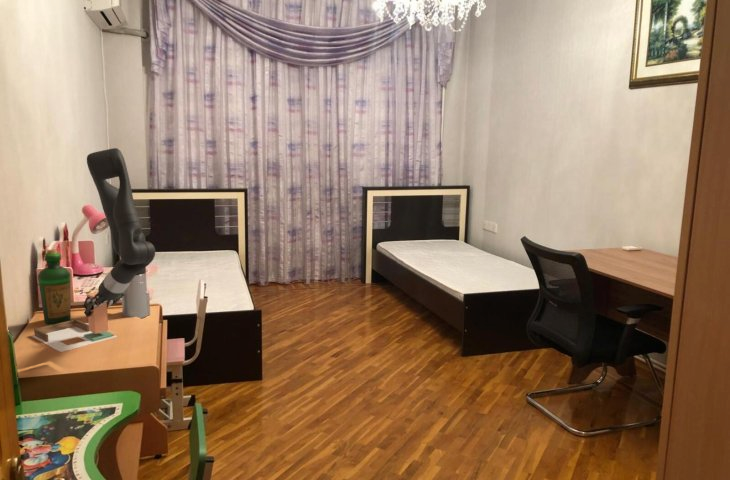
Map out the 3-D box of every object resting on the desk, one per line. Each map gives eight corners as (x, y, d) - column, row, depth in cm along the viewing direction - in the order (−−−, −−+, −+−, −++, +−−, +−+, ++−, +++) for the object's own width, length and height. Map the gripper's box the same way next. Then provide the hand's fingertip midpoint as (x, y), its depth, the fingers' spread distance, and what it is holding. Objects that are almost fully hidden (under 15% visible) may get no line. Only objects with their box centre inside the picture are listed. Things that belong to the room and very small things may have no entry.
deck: (87, 325, 210) (86, 322, 210) (117, 339, 197) (117, 336, 197) (31, 339, 196) (31, 336, 195) (60, 355, 182) (60, 351, 182)
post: (101, 327, 199) (99, 291, 197) (108, 330, 196) (106, 294, 194) (89, 330, 196) (86, 294, 193) (95, 333, 193) (93, 296, 191)
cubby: (76, 325, 207) (76, 319, 206) (89, 331, 201) (88, 324, 201) (34, 335, 196) (34, 328, 195) (46, 341, 190) (46, 335, 190)
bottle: (60, 329, 205) (54, 253, 201) (34, 327, 208) (28, 252, 203) (80, 320, 216) (75, 248, 211) (55, 318, 218) (50, 246, 213)
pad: (103, 331, 201) (103, 329, 201) (113, 336, 197) (113, 334, 197) (83, 336, 196) (83, 334, 196) (93, 341, 192) (93, 339, 192)
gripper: (127, 270, 195) (106, 299, 203) (90, 279, 183) (69, 309, 190) (139, 287, 194) (117, 315, 201) (102, 297, 181) (80, 327, 189)
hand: (94, 312), depth 196 cm, fingers closed on post, 5 cm apart
